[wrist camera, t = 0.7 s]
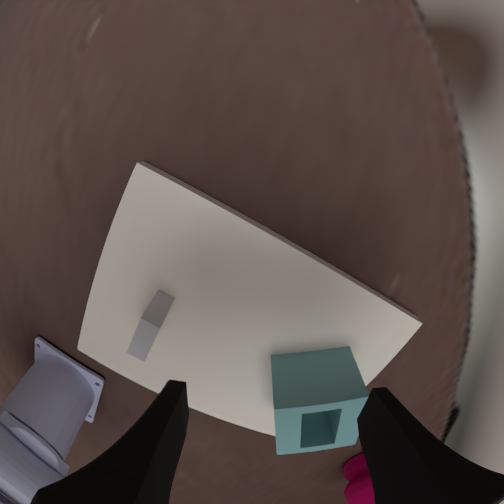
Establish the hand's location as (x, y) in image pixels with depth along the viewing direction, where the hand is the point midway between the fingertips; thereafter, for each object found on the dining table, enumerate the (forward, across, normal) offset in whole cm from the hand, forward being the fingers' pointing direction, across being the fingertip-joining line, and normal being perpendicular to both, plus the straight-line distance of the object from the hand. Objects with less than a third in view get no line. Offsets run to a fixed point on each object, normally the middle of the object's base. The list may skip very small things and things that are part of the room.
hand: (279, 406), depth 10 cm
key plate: (+10, +2, +4) cm, 11 cm away
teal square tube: (+8, -4, +7) cm, 11 cm away
